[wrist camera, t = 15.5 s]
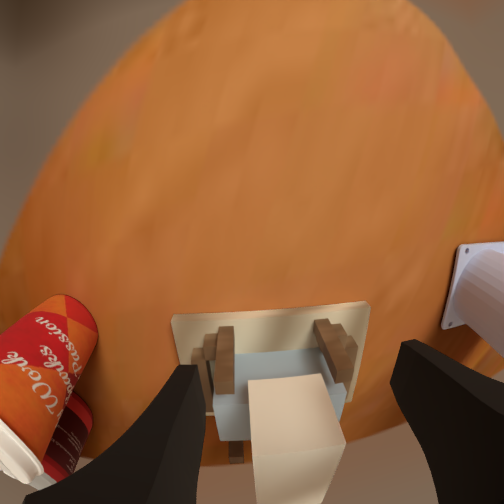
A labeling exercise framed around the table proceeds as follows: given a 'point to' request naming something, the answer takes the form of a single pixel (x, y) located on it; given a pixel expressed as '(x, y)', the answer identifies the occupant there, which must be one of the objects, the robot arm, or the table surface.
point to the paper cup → (40, 379)
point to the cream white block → (293, 439)
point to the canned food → (65, 443)
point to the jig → (270, 344)
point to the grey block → (269, 367)
